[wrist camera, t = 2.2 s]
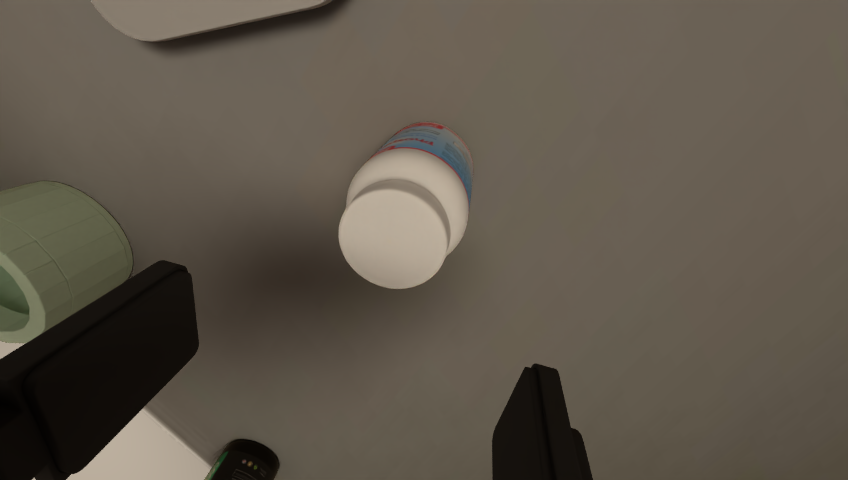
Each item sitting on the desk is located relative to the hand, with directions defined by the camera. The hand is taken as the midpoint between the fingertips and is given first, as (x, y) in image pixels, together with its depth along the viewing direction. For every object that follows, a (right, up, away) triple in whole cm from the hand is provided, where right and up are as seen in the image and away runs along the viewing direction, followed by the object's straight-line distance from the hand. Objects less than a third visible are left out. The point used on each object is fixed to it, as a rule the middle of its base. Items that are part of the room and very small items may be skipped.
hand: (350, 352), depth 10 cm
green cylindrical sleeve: (-29, +3, +22) cm, 36 cm away
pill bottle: (+2, +8, +15) cm, 17 cm away
